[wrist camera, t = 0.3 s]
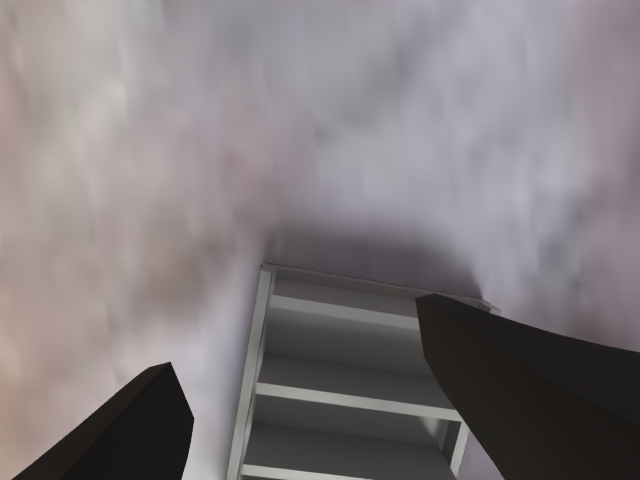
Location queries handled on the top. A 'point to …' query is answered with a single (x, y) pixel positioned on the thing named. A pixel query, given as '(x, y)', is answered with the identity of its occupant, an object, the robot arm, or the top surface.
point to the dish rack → (342, 384)
